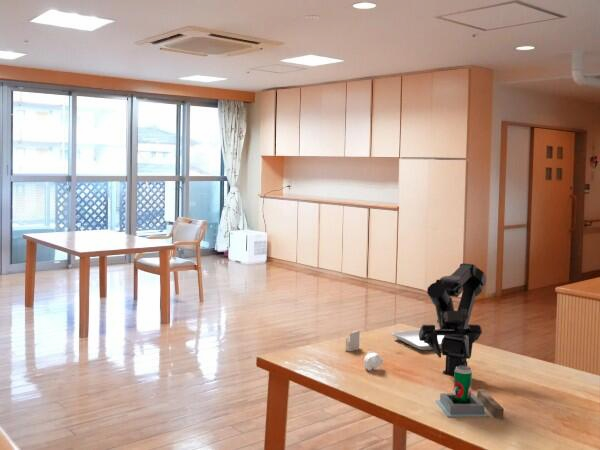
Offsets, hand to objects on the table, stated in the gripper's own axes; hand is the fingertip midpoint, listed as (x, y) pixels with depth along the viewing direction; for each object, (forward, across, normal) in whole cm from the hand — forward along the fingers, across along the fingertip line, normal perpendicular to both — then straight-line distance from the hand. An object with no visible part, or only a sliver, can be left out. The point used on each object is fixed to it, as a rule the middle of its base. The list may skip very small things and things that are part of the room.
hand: (455, 357), depth 201 cm
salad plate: (-34, +9, +53) cm, 64 cm away
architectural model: (-28, -23, +48) cm, 60 cm away
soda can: (+14, 0, +4) cm, 15 cm away
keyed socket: (+15, 0, +4) cm, 15 cm away
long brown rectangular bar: (+15, +9, +4) cm, 18 cm away
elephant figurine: (-11, -19, +31) cm, 38 cm away
